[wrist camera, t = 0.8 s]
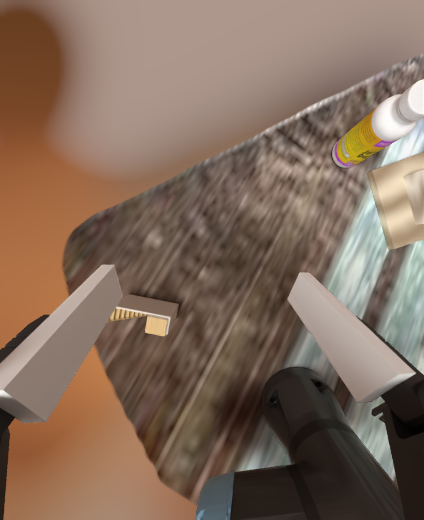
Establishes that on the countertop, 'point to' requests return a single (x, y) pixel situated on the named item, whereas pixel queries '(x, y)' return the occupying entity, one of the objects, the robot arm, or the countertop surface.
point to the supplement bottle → (381, 127)
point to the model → (147, 313)
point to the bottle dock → (400, 200)
